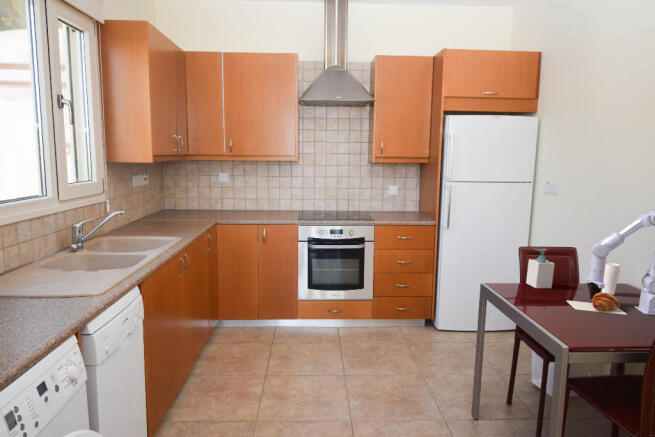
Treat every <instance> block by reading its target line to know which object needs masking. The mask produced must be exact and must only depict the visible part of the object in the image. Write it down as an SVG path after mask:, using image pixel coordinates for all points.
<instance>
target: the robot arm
mask: <svg viewBox="0 0 655 437" xmlns="http://www.w3.org/2000/svg"><path fill="white" fill-rule="evenodd" d="M652 226H654V227H655V209H649V211H647V212H646V213H643V214H641V215H640V216H639V217H637V218H636V219H634V220H633V221H632V222H631V223H629V224H628V225H627V226H626V227H624V228H623V229H622V230H620V231H619V232H618V231H617V232H616V231H615V232H610V233H608V236H606V237H604V239H602V240H598V243H594V245H592V247H591V248H590V250H591V253H592V254H591V259H590V265H589V272H588V273H589V274H588V275H586V278H585V281H587V282H586V285H587V288H588V293H589V300H591V301H592V300H593V297H594V295H596V294H597V293H601V292H602V289H603V288H605V284H604V281H603V279H604V272H605V265H606V262H607V261H606V260H607V257H608V256H609V254H610V252H612V251H613V250H615V249H616V248H618V247H620V246H621V245H623V244H624V243H625V239H626V238H628V237H630V236H631V235H632V234H634V233H635V232H637V231H639V230H640V229H642V228H648V227H649V228H650V227H652ZM650 262H651V263H650V266H649V268H647V270H646V273H645V274H644V276H642V278H641V284H642V285H643V286H642V287H641V289H640V290H641V291H640V296H639V303H638V304H639V305H638V306H636V305H634V308H635V309H637V311H640V312H641V313H643V314H644V315H650V316H651V315H652V316H655V251H654V252H653V256H652V259H651V261H650Z"/></svg>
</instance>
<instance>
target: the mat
mask: <svg viewBox="0 0 655 437" xmlns="http://www.w3.org/2000/svg"><path fill="white" fill-rule="evenodd" d="M565 301H566V302H567V303H568V304H569V305H571V307H572V308H574V310H576V311H584V312H585V311H587V312H595V313H596V312H597V313H606V314H616V315H625V316H627V315H628V314H627V313H626V312H625V311H624V310H622V309H620V307H618V308H616V309H613V310H607V311H604V310H599V309H595V308H594V307H593V305H592V304H593V302H585V301H578V300H577V301H576V300H565Z"/></svg>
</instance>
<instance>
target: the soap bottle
mask: <svg viewBox="0 0 655 437" xmlns="http://www.w3.org/2000/svg"><path fill="white" fill-rule="evenodd" d="M547 250H548V249H547V248H539V249H538V248H534V251H538V252H540V255H539V256H538V257H536V258H528V263H527V273H526V282H525V283H526V284H527V285H529V286H531V287H533V288H535V289H552V288H553V280H554V272H555V271H554V270H555V262H552V261H549V260H547V258H546V255H545V251H547Z"/></svg>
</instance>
